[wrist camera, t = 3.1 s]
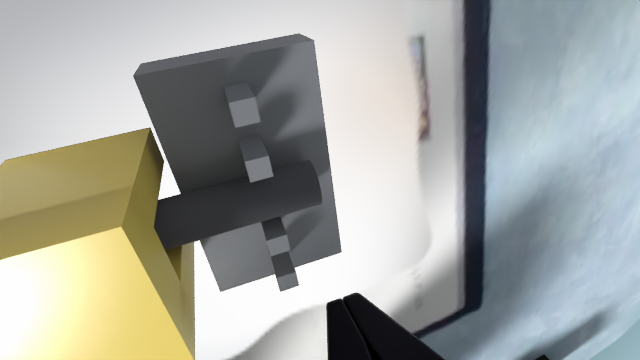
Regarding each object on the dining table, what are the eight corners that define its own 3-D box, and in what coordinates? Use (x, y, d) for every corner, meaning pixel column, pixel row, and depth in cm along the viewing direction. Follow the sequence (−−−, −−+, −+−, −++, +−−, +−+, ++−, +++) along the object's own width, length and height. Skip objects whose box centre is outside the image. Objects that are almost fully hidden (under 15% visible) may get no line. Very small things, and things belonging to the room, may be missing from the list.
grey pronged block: (328, 228, 19) (357, 280, 16) (217, 263, 18) (223, 326, 15) (299, 33, 14) (332, 49, 11) (140, 63, 13) (122, 92, 9)
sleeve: (193, 233, 16) (195, 361, 11) (78, 267, 15) (14, 426, 10) (149, 127, 14) (121, 226, 8) (6, 160, 13) (-140, 298, 7)
